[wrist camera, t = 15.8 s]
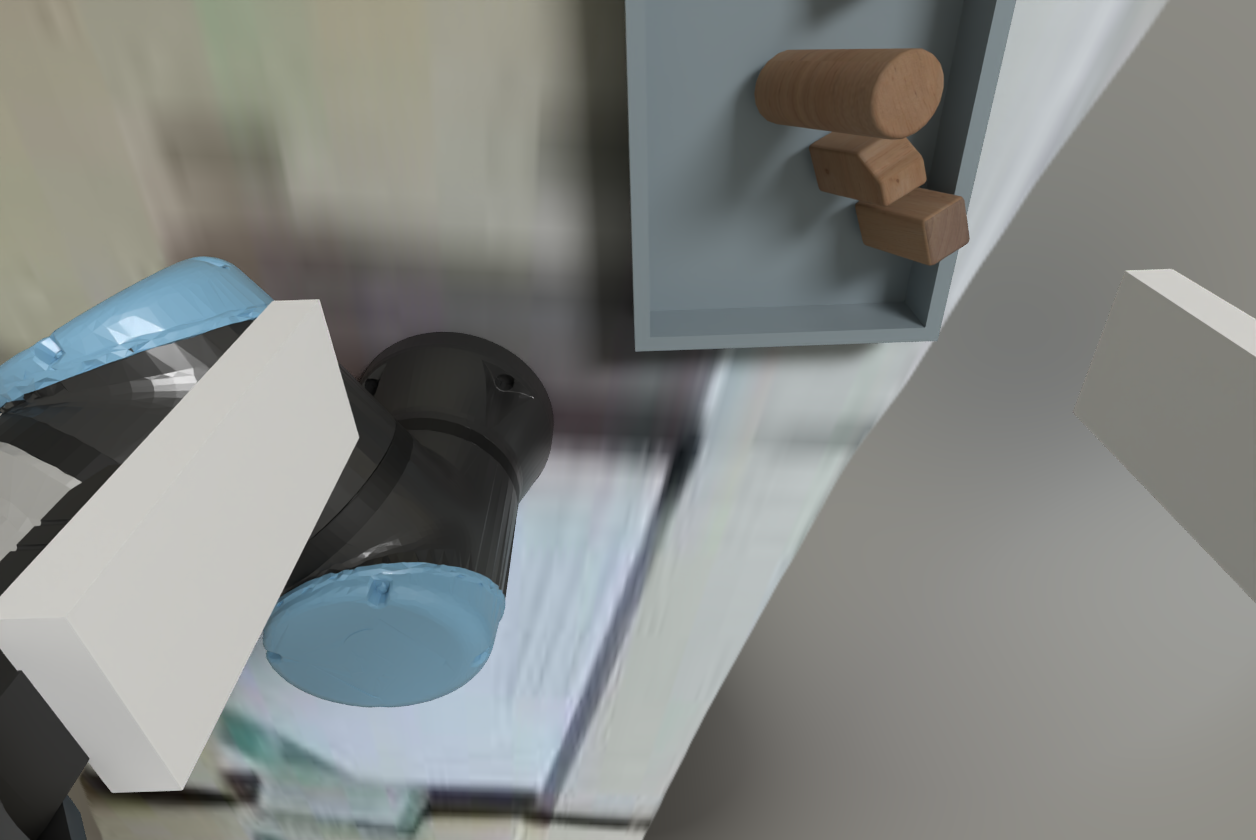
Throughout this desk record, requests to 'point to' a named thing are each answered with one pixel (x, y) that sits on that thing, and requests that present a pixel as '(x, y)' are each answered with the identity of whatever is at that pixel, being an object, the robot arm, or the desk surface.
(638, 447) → the desk surface
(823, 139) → the wooden block set
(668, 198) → the crate
